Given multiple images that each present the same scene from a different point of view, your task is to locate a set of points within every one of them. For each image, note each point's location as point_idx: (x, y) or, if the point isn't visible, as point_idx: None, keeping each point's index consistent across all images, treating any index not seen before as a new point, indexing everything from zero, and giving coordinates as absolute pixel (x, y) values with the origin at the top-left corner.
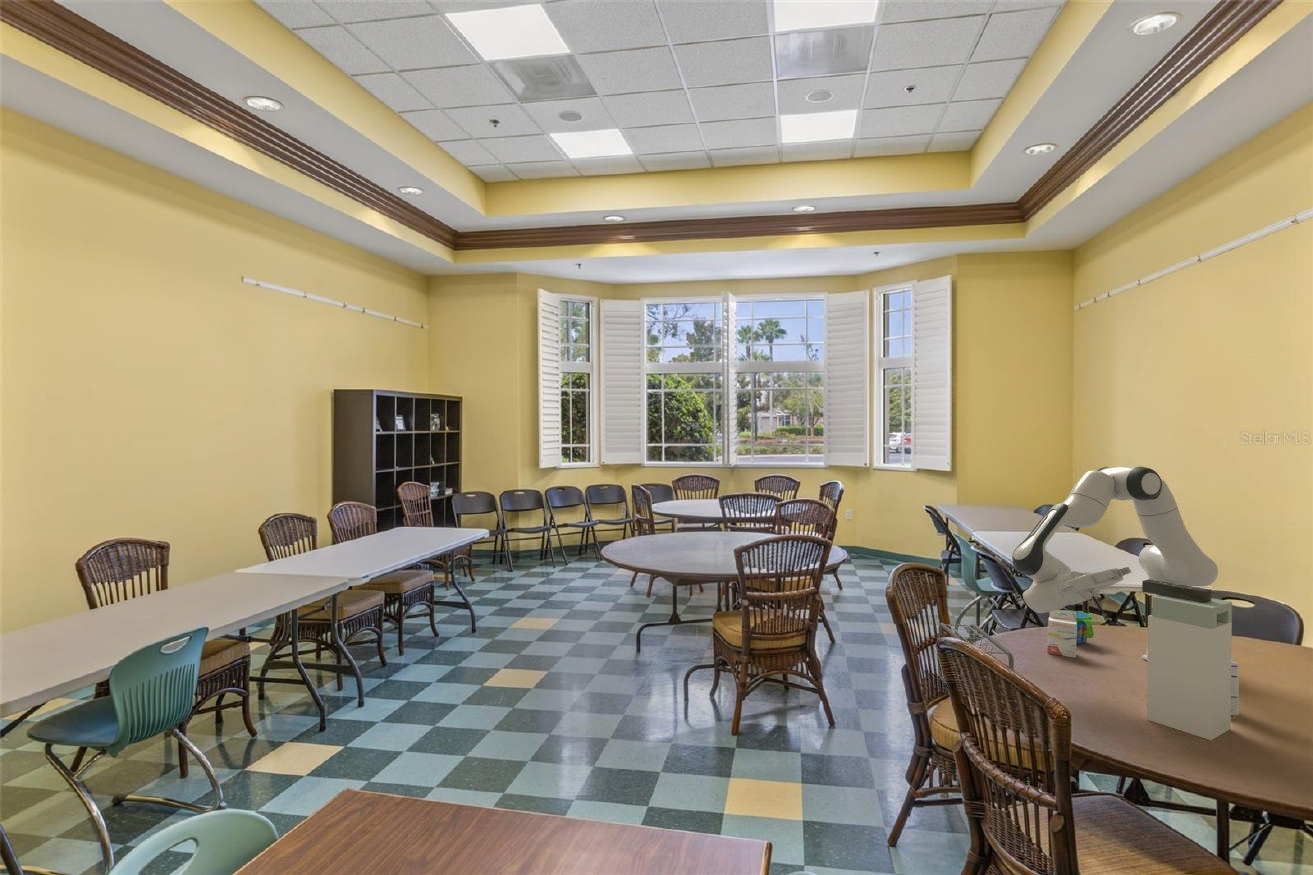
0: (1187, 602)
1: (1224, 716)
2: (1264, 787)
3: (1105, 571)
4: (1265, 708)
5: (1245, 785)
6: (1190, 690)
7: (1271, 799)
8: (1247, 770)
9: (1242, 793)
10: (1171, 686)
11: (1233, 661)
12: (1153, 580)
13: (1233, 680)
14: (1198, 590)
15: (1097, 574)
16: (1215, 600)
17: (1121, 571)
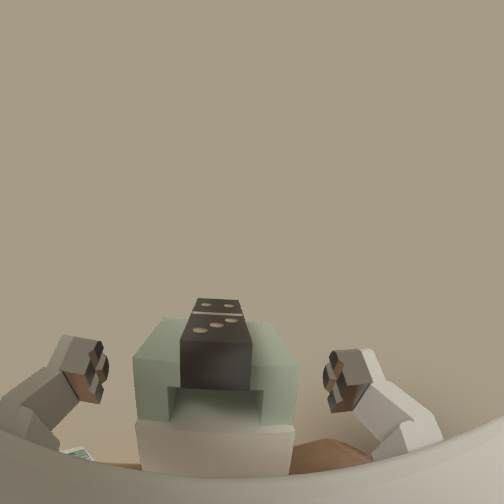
0: (269, 336)
1: None
2: (327, 455)
3: (137, 470)
4: None
5: (342, 459)
6: None
7: (344, 445)
8: (305, 472)
9: (361, 453)
10: None
11: (74, 448)
12: (196, 333)
13: None
14: (238, 302)
15: (423, 407)
16: (180, 325)
17: (59, 392)
